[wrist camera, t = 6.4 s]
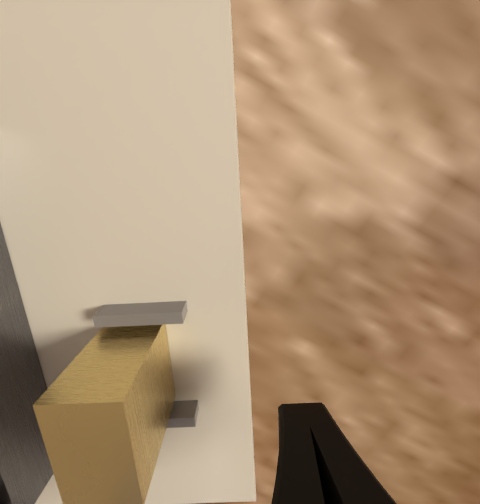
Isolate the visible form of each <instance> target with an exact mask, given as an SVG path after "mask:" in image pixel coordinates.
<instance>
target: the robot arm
mask: <svg viewBox="0 0 480 504" xmlns="http://www.w3.org/2000/svg"><path fill="white" fill-rule="evenodd" d="M278 413H279V456H278V465H277V474H276V481H275V487H274V493H273V499H272V504H396V502H395V501H394V500H393V499H392V498H391V496H390V495H389V494H388V493H387V491H386V490H385V489H384V488H383V486H382V485H381V484H380V483H379V481H378V480H377V479H376V478H375V476H374V475H373V474H372V472H371V471H370V470H369V468H368V467H367V466H366V464H365V463H364V462H363V461H362V459H361V458H360V457H359V455H358V454H357V452H356V451H355V450H354V448H353V447H352V446H351V444H350V443H349V441H348V440H347V439H346V437H345V436H344V434H343V433H342V431H341V430H340V428H339V427H338V425H337V424H336V422H335V421H334V419H333V418H332V416H331V415H330V413H329V412H328V410H327V408H326V407H325V405H324V404H322V403H298V404H282V405H280V406H279V407H278Z"/></svg>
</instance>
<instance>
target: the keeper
mask: <svg viewBox="0 0 480 504" xmlns="http://www.w3.org/2000/svg"><path fill="white" fill-rule="evenodd" d="M175 397H176V395H175V388H174V381H173V373H172V366H171V359H170V352H169V345H168V337H167V330H166V324H163V325H141V326H120V327H102V329H101V330H100V331H99V332H98V333H97V334H96V335H95V336H94V337H93V339H92V340H91V341H90V342H89V343H88V344H87V345H86V346H85V347H84V349H83V350H82V351H81V352H80V353H79V354H78V355H77V356H76V358H75V359H74V360H73V361H72V362H71V363H70V364H69V365H68V366H67V368H66V369H65V370H64V371H63V372H62V373H61V374H60V375H59V377H58V378H57V379H56V380H55V381H54V382H53V383H52V384H51V385H50V387H49V388H48V389H47V390H46V391H45V392H44V393H43V394H42V395H41V397H40V398H39V399H38V400H37V401H36V402H35V403H34V404H33V408H34V412H35V415H36V418H37V421H38V425H39V428H40V431H41V434H42V438H43V441H44V444H45V447H46V451H47V454H48V457H49V460H50V464H51V467H52V470H53V473H54V476H55V480H56V483H57V486H58V489H59V493H60V496H61V499H62V502H63V504H145V500H146V497H147V493H148V490H149V486H150V483H151V480H152V476H153V473H154V469H155V466H156V462H157V459H158V456H159V452H160V449H161V445H162V442H163V438H164V435H165V431H166V428H167V425H168V421H169V418H170V414H171V411H172V407H173V404H174V401H175Z"/></svg>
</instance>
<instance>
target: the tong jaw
mask: <svg viewBox="0 0 480 504" xmlns="http://www.w3.org/2000/svg"><path fill="white" fill-rule="evenodd" d="M46 390H47V386H46V382H45V379H44V375H43V372H42V368H41V365H40V361H39V358H38V354H37V351H36V347H35V343H34V340H33V336H32V333H31V329H30V326H29V322H28V319H27V315H26V312H25V308H24V305H23V301H22V297H21V294H20V290H19V287H18V283H17V280H16V276H15V273H14V269H13V266H12V262H11V258H10V255H9V251H8V248H7V244H6V241H5V237H4V234H3V230H2V227H1V223H0V504H35V503H36V501H37V499H38V498H39V496H40V494H41V493H42V491H43V490H44V488H45V486H46V485H47V483H48V482H49V480H50V478H51V477H52V475H53V474H54V473H53V470H52V467H51V464H50V460H49V457H48V454H47V451H46V447H45V444H44V441H43V438H42V434H41V431H40V428H39V425H38V421H37V418H36V415H35V412H34V408H33V404H34V403H35V402H36V401H37V400H38V399H39V398H40V397H41V395H42V394H43V393H44V392H45V391H46Z"/></svg>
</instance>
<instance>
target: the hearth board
mask: <svg viewBox="0 0 480 504" xmlns="http://www.w3.org/2000/svg"><path fill="white" fill-rule="evenodd" d="M0 223H1V227H2V230H3V234H4V237H5V241H6V244H7V248H8V251H9V255H10V258H11V262H12V266H13V269H14V273H15V276H16V280H17V283H18V287H19V290H20V294H21V297H22V301H23V305H24V308H25V312H26V315H27V319H28V322H29V326H30V329H31V333H32V336H33V340H34V343H35V347H36V351H37V354H38V358H39V361H40V365H41V368H42V372H43V375H44V379H45V382H46V386H47V389H48V388H49V387H50V385H51V384H52V383H53V382H54V381H55V380H56V379H57V378H58V377H59V375H60V374H61V373H62V372H63V371H64V370H65V369H66V368H67V366H68V365H69V364H70V363H71V362H72V361H73V360H74V359H75V358H76V356H77V355H78V354H79V353H80V352H81V351H82V350H83V349H84V347H85V346H86V345H87V344H88V343H89V342H90V341H91V340H92V339H93V337H94V336H95V335H96V334H97V333H98V332H99V331H100V330H101V329H102V327H120V326H141V325H163V324H166V330H167V337H168V345H169V352H170V359H171V366H172V373H173V381H174V388H175V395H176V397H175V401H174V404H173V407H172V411H171V414H170V418H169V421H168V425H167V428H166V431H165V435H164V438H163V442H162V445H161V449H160V452H159V456H158V459H157V462H156V466H155V469H154V473H153V476H152V480H151V483H150V486H149V490H148V493H147V497H146V500H145V504H188V503H216V502H244V501H256V486H255V466H254V446H253V427H252V407H251V388H250V368H249V349H248V329H247V310H246V290H245V271H244V252H243V232H242V213H241V193H240V174H239V154H238V135H237V115H236V96H235V77H234V57H233V38H232V18H231V0H0ZM35 504H63V502H62V499H61V496H60V493H59V489H58V486H57V483H56V480H55V476H54V474H53V475H52V477H51V478H50V480H49V482H48V483H47V485H46V486H45V488H44V490H43V491H42V493H41V494H40V496H39V498H38V499H37V501H36V503H35Z"/></svg>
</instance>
